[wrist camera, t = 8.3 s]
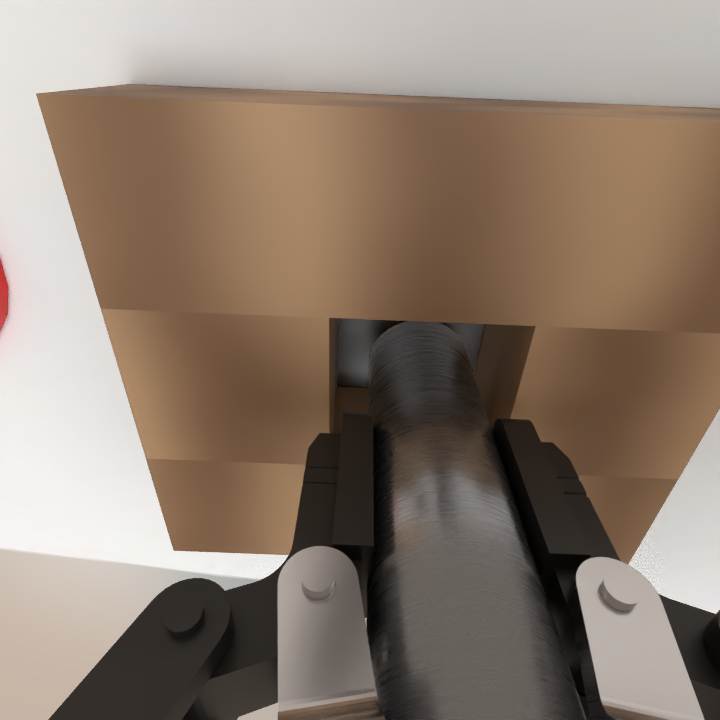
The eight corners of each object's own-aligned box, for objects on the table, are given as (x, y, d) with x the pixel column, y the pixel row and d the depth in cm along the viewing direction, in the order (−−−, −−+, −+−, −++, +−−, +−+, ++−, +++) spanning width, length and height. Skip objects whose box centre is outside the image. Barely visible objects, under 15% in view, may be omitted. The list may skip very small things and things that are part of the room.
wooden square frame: (741, 109, 12) (884, 128, 9) (582, 481, 20) (626, 568, 16) (128, 84, 12) (36, 93, 9) (207, 466, 20) (173, 550, 16)
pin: (474, 321, 13) (701, 896, 4) (458, 402, 15) (596, 944, 6) (371, 317, 13) (371, 881, 4) (366, 398, 15) (360, 935, 6)
